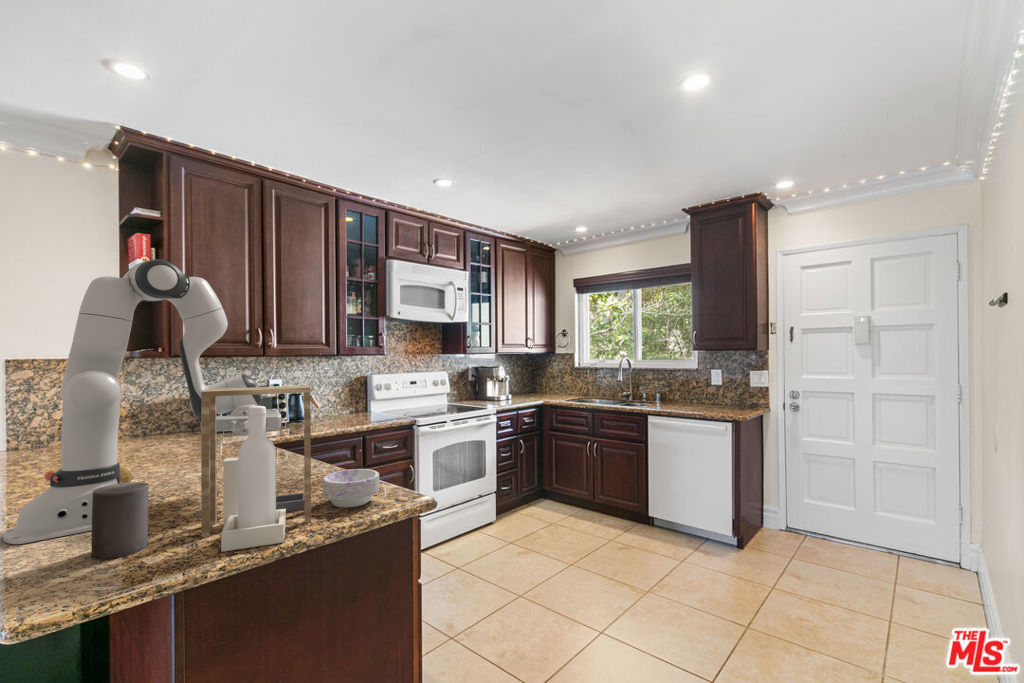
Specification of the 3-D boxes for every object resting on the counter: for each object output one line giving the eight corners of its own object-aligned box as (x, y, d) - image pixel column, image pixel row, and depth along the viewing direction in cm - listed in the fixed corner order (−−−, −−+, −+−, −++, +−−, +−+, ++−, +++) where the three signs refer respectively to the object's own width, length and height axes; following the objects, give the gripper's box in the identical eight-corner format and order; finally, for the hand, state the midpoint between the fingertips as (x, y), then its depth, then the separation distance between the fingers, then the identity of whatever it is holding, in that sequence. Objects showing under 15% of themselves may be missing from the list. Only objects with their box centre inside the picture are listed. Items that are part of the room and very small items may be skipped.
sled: (226, 521, 122) (226, 457, 122) (287, 513, 127) (287, 452, 127) (210, 553, 102) (210, 477, 102) (283, 542, 107) (283, 470, 108)
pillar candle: (82, 563, 98) (84, 489, 99) (101, 546, 107) (102, 478, 108) (140, 555, 102) (142, 484, 103) (153, 539, 111) (155, 473, 112)
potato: (104, 498, 145) (104, 471, 145) (81, 492, 151) (82, 467, 152) (141, 489, 154) (141, 464, 154) (118, 485, 160) (118, 460, 160)
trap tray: (253, 507, 133) (253, 498, 134) (306, 500, 139) (306, 492, 139) (249, 516, 126) (249, 506, 126) (305, 508, 131) (305, 499, 131)
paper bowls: (357, 513, 127) (357, 483, 127) (310, 508, 131) (310, 479, 132) (390, 497, 141) (389, 470, 141) (346, 493, 146) (346, 467, 146)
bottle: (271, 541, 108) (270, 407, 109) (232, 545, 107) (232, 409, 107) (280, 528, 116) (279, 404, 117) (244, 532, 114) (243, 405, 115)
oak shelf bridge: (209, 523, 121) (209, 389, 122) (310, 510, 130) (310, 385, 131) (201, 537, 112) (201, 391, 113) (311, 521, 121) (310, 387, 122)
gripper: (205, 411, 141) (195, 416, 128) (282, 408, 149) (280, 412, 136) (204, 433, 140) (194, 440, 128) (282, 429, 148) (279, 435, 136)
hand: (239, 426), depth 132 cm, fingers closed
